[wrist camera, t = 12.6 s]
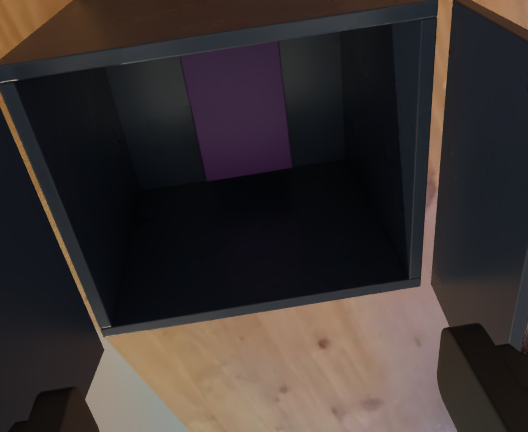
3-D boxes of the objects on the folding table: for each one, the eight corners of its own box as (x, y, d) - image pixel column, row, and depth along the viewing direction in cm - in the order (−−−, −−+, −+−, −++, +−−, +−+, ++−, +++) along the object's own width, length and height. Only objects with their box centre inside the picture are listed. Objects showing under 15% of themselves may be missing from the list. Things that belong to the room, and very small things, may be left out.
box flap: (104, 349, 20) (95, 350, 20) (-13, 75, 14) (-27, 76, 14) (37, 522, 14) (24, 522, 14) (-201, 196, 8) (-222, 198, 8)
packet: (285, 143, 29) (292, 168, 26) (206, 156, 28) (206, 182, 26) (269, 14, 25) (277, 28, 22) (179, 29, 25) (176, 44, 22)
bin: (135, 195, 30) (67, 496, 15) (75, -3, 24) (-139, 169, 9) (364, 159, 30) (522, 419, 15) (361, -46, 24) (617, 53, 9)
